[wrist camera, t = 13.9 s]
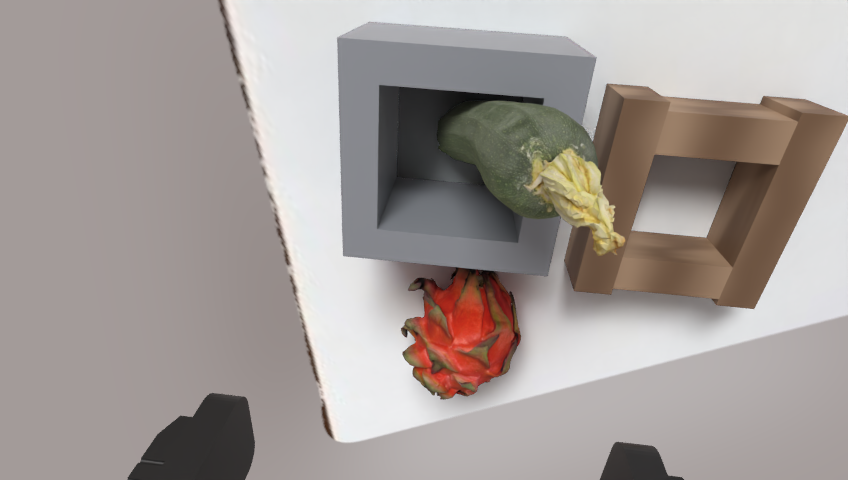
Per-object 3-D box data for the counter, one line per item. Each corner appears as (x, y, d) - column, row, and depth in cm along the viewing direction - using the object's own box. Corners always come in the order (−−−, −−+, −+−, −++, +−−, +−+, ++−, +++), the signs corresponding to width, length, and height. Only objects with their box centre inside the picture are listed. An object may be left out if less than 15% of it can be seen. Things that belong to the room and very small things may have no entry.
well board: (805, 99, 29) (850, 116, 26) (726, 276, 36) (754, 308, 32) (606, 83, 30) (624, 98, 26) (564, 260, 36) (574, 290, 33)
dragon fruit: (434, 346, 44) (470, 226, 39) (513, 400, 39) (564, 272, 35) (368, 381, 37) (403, 241, 33) (454, 451, 33) (508, 300, 28)
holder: (566, 36, 29) (596, 57, 22) (532, 215, 35) (547, 276, 28) (369, 21, 29) (337, 37, 22) (368, 200, 35) (343, 256, 28)
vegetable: (438, 85, 31) (583, 102, 12) (500, 101, 32) (722, 140, 13) (421, 152, 32) (531, 262, 13) (482, 166, 33) (662, 286, 14)
